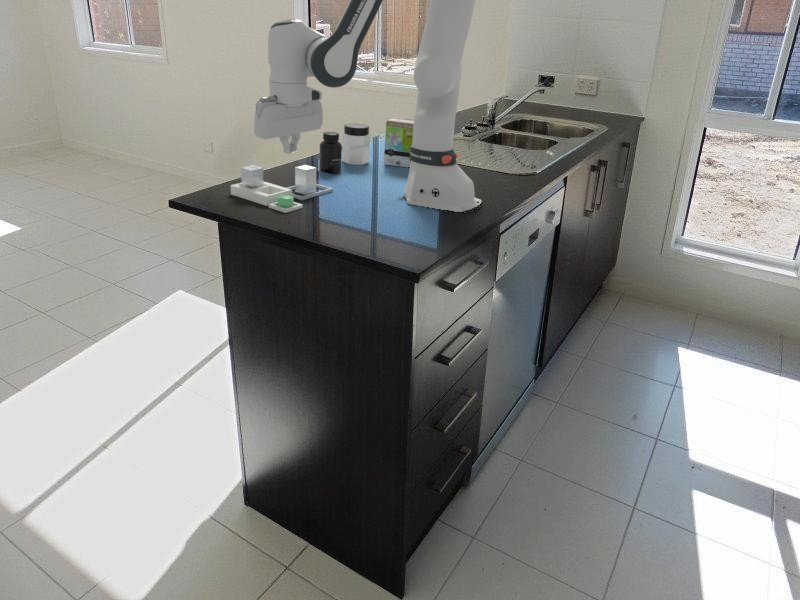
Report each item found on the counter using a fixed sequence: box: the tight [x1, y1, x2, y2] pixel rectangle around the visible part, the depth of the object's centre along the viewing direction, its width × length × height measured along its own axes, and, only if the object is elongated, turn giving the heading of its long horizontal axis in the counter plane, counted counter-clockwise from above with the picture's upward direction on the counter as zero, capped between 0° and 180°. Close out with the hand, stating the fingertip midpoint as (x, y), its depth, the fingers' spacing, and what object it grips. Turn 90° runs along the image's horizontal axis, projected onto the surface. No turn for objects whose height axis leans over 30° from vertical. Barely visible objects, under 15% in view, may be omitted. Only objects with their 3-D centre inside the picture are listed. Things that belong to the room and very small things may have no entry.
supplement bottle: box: [318, 131, 343, 175], centre depth 194 cm, size 7×7×12 cm
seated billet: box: [240, 164, 265, 189], centre depth 166 cm, size 4×4×7 cm
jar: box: [341, 122, 371, 166], centre depth 208 cm, size 9×8×12 cm
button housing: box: [268, 201, 304, 214], centre depth 159 cm, size 6×6×2 cm
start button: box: [277, 196, 295, 208], centre depth 158 cm, size 4×4×3 cm
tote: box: [286, 183, 334, 201], centre depth 172 cm, size 9×12×2 cm
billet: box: [294, 164, 317, 196], centre depth 170 cm, size 4×4×7 cm
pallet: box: [229, 180, 293, 207], centre depth 165 cm, size 14×9×4 cm, turn 54°
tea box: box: [383, 115, 414, 168], centre depth 208 cm, size 15×10×15 cm, turn 76°
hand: (290, 152), depth 155 cm, fingers closed
